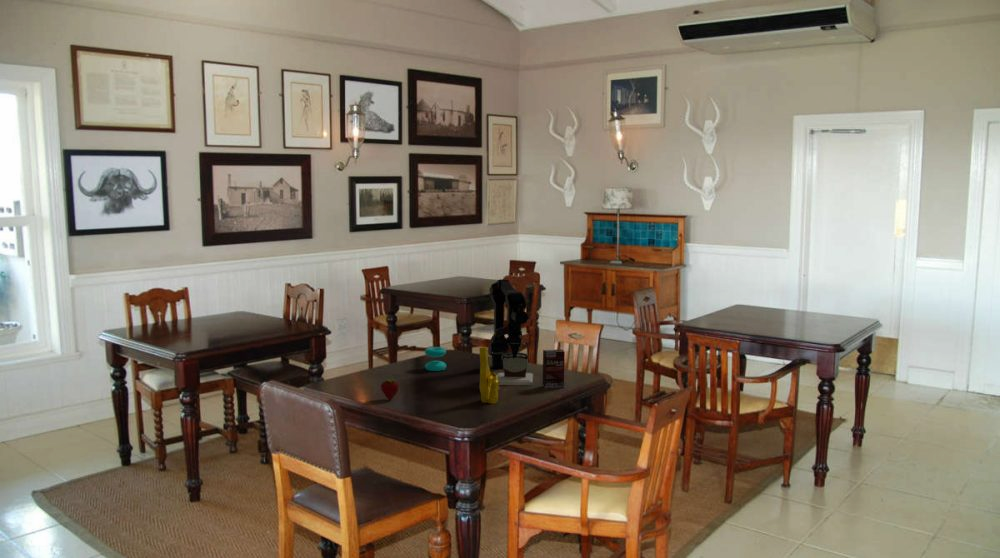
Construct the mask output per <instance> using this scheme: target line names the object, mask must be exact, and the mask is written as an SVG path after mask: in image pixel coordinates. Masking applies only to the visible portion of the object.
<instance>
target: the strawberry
mask: <svg viewBox="0 0 1000 558" xmlns="http://www.w3.org/2000/svg"><path fill="white" fill-rule="evenodd" d="M380 388H381V391H382V393H383V394H384V396H385V397H386V398H387V400H389V401H392V400H393V398H394V397H395V396H396V395H397V393H398V391H399V388H400V384H399V383H398V382H397V380H396V379H395V378H390V379H387V378H386V379H384V381H383V382H382V383H381V384H380Z"/></svg>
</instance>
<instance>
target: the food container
mask: <svg viewBox="0 0 1000 558" xmlns="http://www.w3.org/2000/svg"><path fill="white" fill-rule="evenodd" d="M501 359H503V368H504V369H503V373H504V377H526V373H527V368H528V361H529V360H530V357H529V354H528V353H525V352H519V351H518V353H517V356H516V358H513V355H512V351H511V352H508V353H505V354H502V357H501Z"/></svg>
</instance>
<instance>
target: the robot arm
mask: <svg viewBox="0 0 1000 558" xmlns="http://www.w3.org/2000/svg"><path fill="white" fill-rule="evenodd" d="M488 290H489V295H490V299H491V301H492V302H493V326H494V327H493V335H492V337H491V338H490V343H489V345H488V347H487V350H488V356H490V357H491V365H490V370H493V369H494V370H495V369H496V370H498V369H499V370H500V369H501V370H504V368H503V359H501V357H502V354H505V353H509V347H510V349H511V352H512V355H513V358H516V356H517V353H518V352H519V350H520V348H521V344H522V341H523V340H522V339H523V330H522V325H524V324H526V323H527V322H528V320H529V315H528V313H527V311H524V310H525V309H526V308H527V300H526V298H525V294H523V292H522V291H520V290H516V289H515V287H514V286H513V285H512V284H511V282H510V280H509V279H507V278H506V279H505V278H504V279H503V278H501V279H497V281H496V282H494V283H493V284H491V286H490V287H489V289H488ZM505 304H506V306H507V309H508V310H507V312H508V313H507V316H508V317H507V320H508V322H507V325H504V324H505V316H504V314H505V313H504V312H505V306H504V305H505ZM506 335H507V336H506Z"/></svg>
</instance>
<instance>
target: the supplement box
mask: <svg viewBox="0 0 1000 558" xmlns="http://www.w3.org/2000/svg"><path fill="white" fill-rule="evenodd" d="M565 357H566V356H565V351H564V350H563V349H542V387H543V386H544V387H545V388H544V387H543V388H544V389H559V388H560V389H561V387H565Z"/></svg>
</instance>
